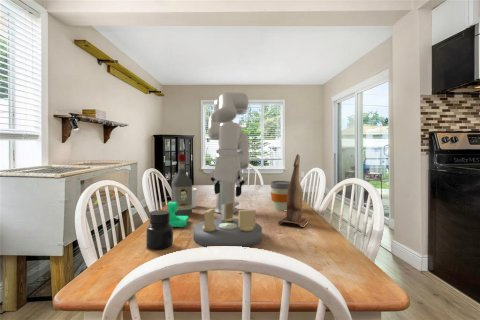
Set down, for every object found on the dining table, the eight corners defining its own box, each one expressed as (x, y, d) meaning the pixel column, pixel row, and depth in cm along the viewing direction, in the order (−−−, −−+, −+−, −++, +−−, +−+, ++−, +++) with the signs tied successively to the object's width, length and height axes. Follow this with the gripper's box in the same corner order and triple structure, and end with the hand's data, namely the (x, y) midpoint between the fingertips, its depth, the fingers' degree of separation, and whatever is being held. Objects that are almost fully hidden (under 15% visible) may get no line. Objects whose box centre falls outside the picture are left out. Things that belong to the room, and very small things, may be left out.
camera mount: (183, 229, 125) (183, 205, 124) (165, 228, 125) (165, 204, 124) (188, 221, 137) (188, 199, 136) (172, 221, 137) (172, 199, 136)
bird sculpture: (277, 226, 131) (279, 154, 128) (285, 219, 142) (287, 152, 139) (302, 230, 127) (305, 155, 124) (308, 223, 137) (311, 153, 134)
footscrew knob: (226, 218, 126) (226, 201, 125) (236, 220, 123) (236, 203, 123) (217, 221, 121) (218, 203, 120) (227, 223, 118) (227, 205, 118)
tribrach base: (222, 224, 132) (222, 198, 132) (273, 235, 117) (274, 207, 117) (178, 239, 111) (179, 209, 110) (234, 255, 96) (235, 220, 96)
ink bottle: (178, 243, 107) (178, 210, 106) (166, 252, 99) (166, 216, 98) (153, 240, 109) (153, 208, 109) (140, 249, 101) (140, 214, 100)
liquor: (170, 212, 153) (170, 153, 151) (188, 210, 156) (188, 153, 154) (174, 216, 144) (174, 154, 142) (192, 215, 148) (193, 154, 146)
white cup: (199, 205, 169) (199, 188, 168) (193, 208, 161) (193, 190, 161) (187, 204, 171) (187, 187, 171) (180, 207, 164) (180, 189, 163)
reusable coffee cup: (276, 205, 172) (277, 180, 171) (296, 209, 165) (297, 182, 164) (265, 209, 162) (266, 182, 161) (286, 213, 155) (287, 184, 154)
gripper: (205, 152, 121) (204, 194, 122) (243, 154, 113) (242, 198, 115) (214, 151, 127) (214, 191, 129) (251, 153, 120) (250, 195, 122)
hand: (227, 194), depth 122 cm, fingers open, 9 cm apart
